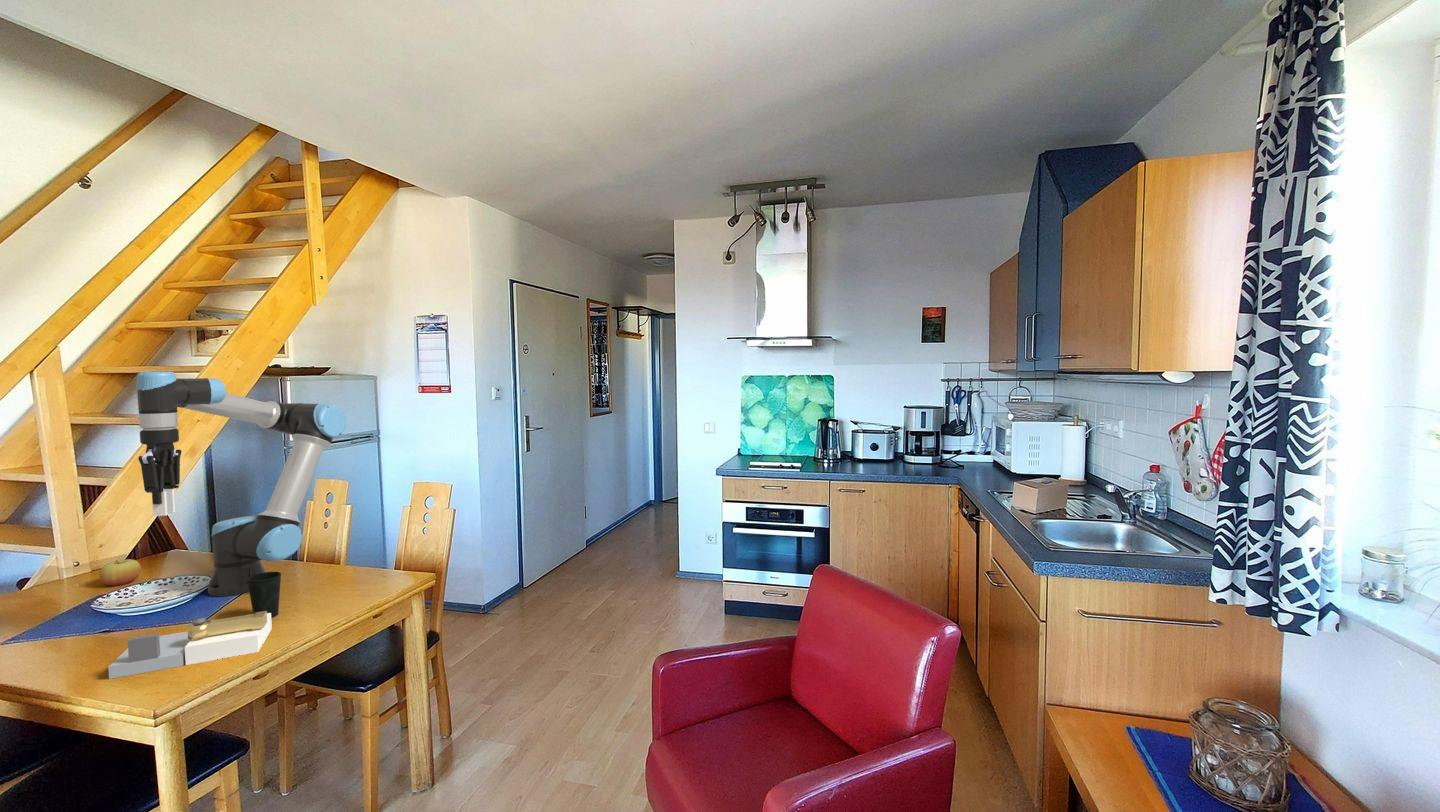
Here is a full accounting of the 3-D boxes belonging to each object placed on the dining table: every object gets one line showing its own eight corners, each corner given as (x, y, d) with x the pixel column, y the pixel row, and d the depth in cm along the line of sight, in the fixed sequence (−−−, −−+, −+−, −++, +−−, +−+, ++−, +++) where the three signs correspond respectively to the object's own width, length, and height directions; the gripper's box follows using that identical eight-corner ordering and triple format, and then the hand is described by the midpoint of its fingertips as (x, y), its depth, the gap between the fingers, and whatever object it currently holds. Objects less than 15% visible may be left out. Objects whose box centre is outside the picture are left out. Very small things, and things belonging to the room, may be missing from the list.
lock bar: (191, 633, 144) (190, 622, 144) (267, 621, 151) (266, 610, 151) (184, 641, 140) (184, 629, 140) (263, 628, 148) (262, 616, 147)
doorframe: (137, 650, 146) (135, 616, 145) (271, 628, 158) (270, 596, 158) (109, 679, 132) (106, 641, 132) (258, 652, 145) (256, 617, 144)
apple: (97, 584, 190) (95, 561, 190) (138, 575, 198) (136, 553, 198) (103, 591, 185) (101, 566, 184) (145, 581, 193) (143, 558, 192)
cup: (264, 623, 162) (261, 581, 161) (242, 620, 163) (240, 579, 162) (289, 611, 169) (287, 572, 168) (268, 609, 171) (266, 570, 170)
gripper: (161, 426, 160) (166, 508, 162) (120, 432, 145) (126, 522, 147) (193, 425, 162) (198, 506, 164) (156, 431, 147) (161, 520, 149)
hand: (164, 513), depth 155 cm, fingers open, 3 cm apart
